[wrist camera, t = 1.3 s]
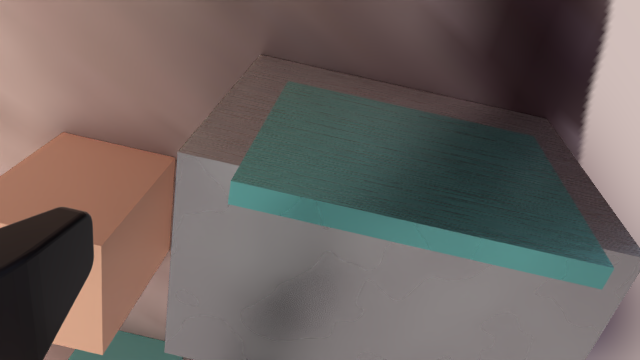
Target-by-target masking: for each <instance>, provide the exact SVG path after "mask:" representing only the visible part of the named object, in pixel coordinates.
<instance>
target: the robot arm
mask: <svg viewBox="0 0 640 360" xmlns="http://www.w3.org/2000/svg"><path fill="white" fill-rule="evenodd" d="M93 261H94V244H93V222H92V218H91V215H90V214H89V213H87V212H85V211H81V210H77V209H73V208H68V207H57V208H54V209H51V210H49V211H46V212H43V213H40V214H38V215H35V216H32V217H29V218H26V219H24V220H21V221H18V222H15V223H12V224H10V225H7V226H4V227H1V228H0V360H43V359H44V357H45V355H46V354H47V352H48V350H49V348H50V346H51V345H52V343H53V341H54V339H55V337H56V335H57V333H58V332H59V330H60V328H61V326H62V324H63V322H64V320H65V319H66V317H67V315H68V313H69V311H70V309H71V308H72V306H73V304H74V302H75V300H76V298H77V296H78V295H79V293H80V291H81V289H82V287H83V285H84V284H85V282H86V280H87V278H88V276H89V274H90V272H91V269H92V266H93Z"/></svg>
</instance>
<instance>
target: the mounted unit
mask: <svg viewBox="0 0 640 360" xmlns="http://www.w3.org/2000/svg"><path fill="white" fill-rule="evenodd" d="M639 272H640V248H639V246H638V245H637V244H636V242H635V241H634V239H633V238H632V237H631V235H630V234H629V232H628V231H627V230H626V228H625V227H624V226H623V224H622V223H621V221H620V220H619V219H618V217H617V216H616V214H615V213H614V212H613V210H612V209H611V207H610V206H609V205H608V203H607V202H606V200H605V199H604V198H603V196H602V195H601V193H600V192H599V191H598V189H597V188H596V187H595V185H594V184H593V182H592V181H591V180H590V178H589V177H588V175H587V174H586V173H585V171H584V170H583V168H582V167H581V166H580V164H579V163H578V161H577V160H576V159H575V157H574V156H573V155H572V153H571V152H570V150H569V149H568V148H567V146H566V145H565V143H564V142H563V141H562V139H561V138H560V136H559V135H558V134H557V132H556V131H555V130H554V128H553V127H552V125H551V124H550V123H549V121H548V120H547V119H545V118H541V117H537V116H532V115H528V114H523V113H519V112H514V111H510V110H505V109H501V108H497V107H492V106H488V105H483V104H479V103H474V102H470V101H465V100H461V99H456V98H452V97H448V96H443V95H439V94H434V93H430V92H425V91H421V90H416V89H412V88H407V87H403V86H399V85H394V84H390V83H385V82H381V81H376V80H372V79H367V78H363V77H358V76H354V75H350V74H345V73H341V72H336V71H332V70H327V69H323V68H318V67H314V66H309V65H305V64H301V63H296V62H292V61H287V60H283V59H278V58H274V57H269V56H265V55H260V56H259V57H258V58H257V59H256V61H255V62H254V63H253V64H252V65H251V66H250V68H249V69H248V70H247V71H246V72H245V74H244V75H243V76H242V77H241V78H240V79H239V81H238V82H237V83H236V84H235V85H234V86H233V88H232V89H231V90H230V91H229V92H228V93H227V95H226V96H225V97H224V98H223V99H222V101H221V102H220V103H219V104H218V105H217V106H216V108H215V109H214V110H213V111H212V112H211V113H210V115H209V116H208V117H207V118H206V119H205V120H204V122H203V123H202V124H201V125H200V126H199V127H198V129H197V130H196V131H195V132H194V133H193V135H192V136H191V137H190V138H189V139H188V140H187V142H186V143H185V144H184V145H183V146H182V147H181V149H180V150H179V151H178V154H177V169H176V184H175V199H174V214H173V229H172V245H171V260H170V275H169V290H168V305H167V320H166V335H165V350H164V353H168V354H172V355H176V356H181V357H185V358H189V359H194V360H585V359H586V357H587V356H588V354H589V353H590V351H591V350H592V348H593V346H594V345H595V343H596V341H597V340H598V338H599V337H600V335H601V333H602V332H603V330H604V329H605V327H606V325H607V324H608V322H609V321H610V319H611V317H612V316H613V314H614V312H615V311H616V309H617V308H618V306H619V304H620V303H621V301H622V299H623V298H624V296H625V295H626V293H627V291H628V290H629V288H630V287H631V285H632V283H633V282H634V280H635V279H636V277H637V275H638V274H639Z"/></svg>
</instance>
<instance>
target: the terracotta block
mask: <svg viewBox="0 0 640 360" xmlns="http://www.w3.org/2000/svg"><path fill="white" fill-rule="evenodd" d="M174 173H175V158H174V157H170V156H166V155H161V154H157V153H152V152H148V151H144V150H139V149H135V148H131V147H126V146H122V145H117V144H113V143H109V142H104V141H100V140H95V139H91V138H87V137H82V136H78V135H73V134H69V133H65V132H63V133H61V134H60V135H58V136H57V137H56V138H54V139H53V140H51V141H50V142H48V143H47V144H46V145H44V146H43V147H41V148H40V149H38V150H37V151H36V152H34V153H33V154H31V155H30V156H28V157H27V158H26V159H24V160H23V161H21V162H20V163H19V164H17V165H16V166H14V167H13V168H11V169H10V170H9V171H7V172H6V173H4V174H3V175H1V176H0V228H1V227H4V226H7V225H10V224H12V223H15V222H18V221H21V220H24V219H26V218H29V217H32V216H35V215H38V214H40V213H43V212H46V211H49V210H51V209H54V208H57V207H68V208H73V209H77V210H81V211H85V212H87V213H89V214H90V215H91V218H92V222H93V244H94V261H93V266H92V269H91V272H90V274H89V276H88V278H87V280H86V282H85V284H84V285H83V287H82V289H81V291H80V293H79V295H78V296H77V298H76V300H75V302H74V304H73V306H72V308H71V309H70V311H69V313H68V315H67V317H66V319H65V320H64V322H63V324H62V326H61V328H60V330H59V332H58V333H57V335H56V337H55V339H54V341H53V343H52V344H57V345H61V346H65V347H69V348H74V349H78V350H82V351H87V352H91V353H95V354H100V355H103V354H104V352H105V351H106V349H107V348H108V346H109V344H110V343H111V341H112V340H113V338H114V337H115V335H116V333H117V332H118V330H119V329H120V327H121V326H122V324H123V322H124V321H125V319H126V318H127V316H128V315H129V313H130V311H131V310H132V308H133V307H134V305H135V304H136V302H137V300H138V299H139V297H140V296H141V294H142V292H143V291H144V289H145V288H146V286H147V285H148V283H149V281H150V280H151V278H152V277H153V275H154V274H155V272H156V270H157V269H158V267H159V266H160V264H161V263H162V261H163V259H164V258H165V256H166V255H167V253H168V252H169V250H170V235H171V220H172V204H173V189H174Z"/></svg>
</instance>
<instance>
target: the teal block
mask: <svg viewBox="0 0 640 360" xmlns="http://www.w3.org/2000/svg"><path fill="white" fill-rule="evenodd" d="M164 350H165V341H162V340H157V339H153V338H149V337H144V336H140V335H136V334H132V333H127V332H123V331H119V330H118V332H117V333H116V335H115V337H114V338H113V340H112V341H111V343H110V344H109V346H108V348H107V349H106V351H105V352H104V354H103V355H100V354H95V353H91V352H87V351H82V350H78V349H75V351H74V352H73V353H72V355H71V356H70V358H69V359H68V360H183V357H181V356H176V355H172V354H168V353H164Z"/></svg>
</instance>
